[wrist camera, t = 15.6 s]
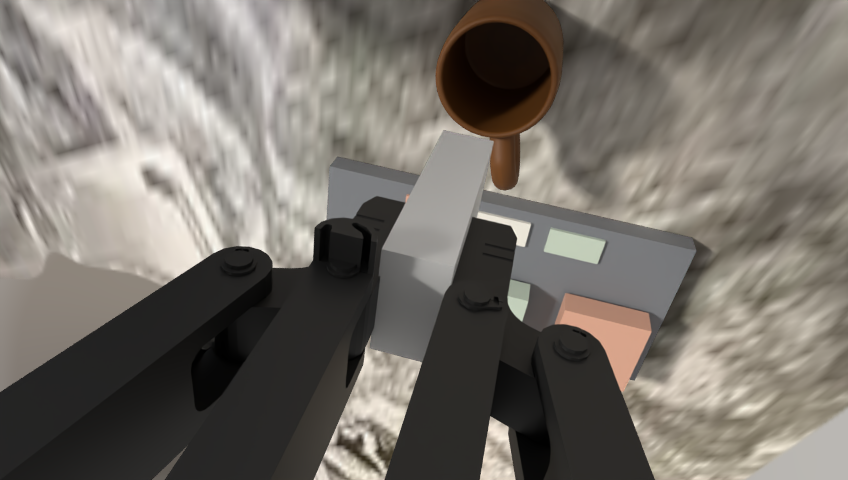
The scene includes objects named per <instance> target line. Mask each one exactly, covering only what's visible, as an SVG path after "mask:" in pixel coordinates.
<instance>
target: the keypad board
mask: <svg viewBox="0 0 848 480" xmlns="http://www.w3.org/2000/svg"><path fill="white" fill-rule="evenodd" d="M419 176H420V175H416V174H411V173H407V172H402V171H398V170H394V169H389V168H385V167H381V166H376V165H372V164H367V163H363V162H359V161H354V160H350V159H345V158H341V157H337V158H336V159H335V161H334V162H333V163H332V164H331V165H330V169H329V187H328V205H327V220H329V219H331V218H343V217H344V218H352V219H353V218H354V216H356V213H357V212H358V210H359V209H360V207H361V206H362V204H363V203H364V202H366V201H368V200H370V199H372V198H374V197H375V196H379V197H384V198H388V199H392V200H397V201H401V202H405V203H406V201H407V199H408V198H409V196H410V194H411V192H412V190H413V188H414V186H415V184H416V182H417V180H418V178H419ZM477 218H480V219H484V220H488V221H493V222H497V223H501V224H505V225H510V226H511V227H512V229H513V231H514V233H515V235H516V237H517V243H516V249H515V255H514V261H513V267H512V273H511V280H515V281H519V282H523V283H527V284H530V292H529V300H528V304H527V307H526V311H525V314H524V317H523V321H522V322H523V323H525V324H527V325H528V326H530V327H532V328H534V329H536V330H538V331H540V332H541V331H542V330H543V329H544V328H546V327H548V326H551V325H554V324H555V321H556V318H557V316H558V313H559V310H560V307H561V304H562V301H563V298H564V295H565V293H568V294H572V295H576V296H580V297H585V298H589V299H593V300H597V301H601V302H605V303H609V304H613V305H617V306H622V307H626V308H630V309H634V310H638V311H642V312H646V313H649V318H650V324H651V331H652V332H651V334H650V336H649V338H648V341H647V343H646V345H645V347H644V349H643V351H642V353H641V355H640V358H639V360H638V362H637V364H636V366H635V368H634V370H633V372H632V375H631V377H630V380H634V381H635V378H636V376H637V374H638V372H639V370H640V368H641V366H642V364H643V362H644V360H645V358H646V355H647V353H648V351H649V349H650V347H651V345H652V343H653V341H654V339H655V337H656V335H657V332H658V330H659V328H660V326H661V324H662V322H663V320H664V318H665V316H666V314H667V311H668V309H669V307H670V305H671V303H672V301H673V299H674V297H675V295H676V293H677V291H678V288H679V286H680V284H681V282H682V280H683V278H684V276H685V274H686V272H687V270H688V268H689V265H690V263H691V261H692V259H693V257H694V255H695V253H696V248H695V245H694V241H693V238H692V237H687V236H683V235H678V234H674V233H670V232H665V231H661V230H657V229H652V228H648V227H643V226H639V225H635V224H630V223H626V222H621V221H617V220H613V219H608V218H604V217H600V216H595V215H591V214H586V213H582V212H578V211H573V210H569V209H565V208H560V207H556V206H551V205H547V204H543V203H538V202H534V201H529V200H525V199H521V198H516V197H512V196H508V195H503V194H499V193H494V192H490V191H486V190H483V193H482V198H481V202H480V207H479V211H478V216H477Z"/></svg>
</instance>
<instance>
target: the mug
mask: <svg viewBox="0 0 848 480" xmlns="http://www.w3.org/2000/svg"><path fill="white" fill-rule="evenodd" d="M562 63H563V34H562V29H561V25H560V23H559V20H558V18H557V16H556V14H555V13H554V11H553V10H552V9H551V7H550V6H549V5H548V4H547V3H546V2H545V1H543V0H479V1H478V2H477V3H476V4H475V5H473V6H472V7H471V9H470V10H469V11H468V12H467V13H466V14H465V16H464V17H463V18H462V19H461V20H460V21H459V23H458V24H457V25H456V26H455V28H454V29H453V30H452V32H451V33H450V35H449V36H448V38H447V40H446V42H445V43H444V45H443V48H442V50H441V53H440V56H439V58H438V62H437V67H436V86H437V92H438V95H439V98H440V100H441V103H442V105H443V107H444V108H445V110H446V111H447V113H448V114H449V115H450V116H451V118H452V119H453V120H454V121H455V122H456V123H458V124H459V125H460V126H462V127H463V128H465V129H466V130H468V131H470V132H472V133H475V134H477V135H481V136H485V137H490V140H491V141H494V143H493V148H492V152H491V157H490V167H491V175H492V181H493V183H494V185H495V186H496V187H497V188H498V189H500V190H509V189H512V188H513V187H515V185H516V184H517V182H518V177H519V169H520V133H522V132H524V131H526V130H528V129H530V128H531V127H533V126H534V125H535V124H537V123H538V122H539V121H540V120H541V119H542V118H543V117H544V116H545V114H546V113H547V112H548V110H549V109H550V107H551V105H552V103H553V101H554V99H555V96H556V93H557V91H558V88H559V85H560V80H561V74H562Z"/></svg>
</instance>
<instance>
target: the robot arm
mask: <svg viewBox="0 0 848 480" xmlns="http://www.w3.org/2000/svg"><path fill="white" fill-rule="evenodd" d="M493 143H494V141H491V140H487V139H482V138H477V137H473V136H468V135H464V134H459V133H455V132H450V131H445V130H443V132H442V134H441V136H440V138H439V140H438V142H437V144H436V146H435V148H434V150H433V151H432V153H431V155H430V157H429V159H428V161H427V163H426V165H425V167H424V169H423V171H422V173H421V175H420V176H419V178H418V180H417V182H416V184H415V186H414V188H413V190H412V192H411V194H410V196H409V198H408V199H407V201H406V203H405V202H401V201H397V200H392V199H388V198H384V197H379V196H375V197H374V198H372V199H370V200H368V201H366V202H364V203H363V204H362V206H361V207H360V209H359V210H358V212H357V213H356V216H354V218H353V219H352V218H344V217H343V218H331V219H329V220H326V221H323V222H321V223H320V224H318V225H317V226H316V227H315V231H314V254H313V261H312V263H311V264H310V266H309V267H305V268H272V260H271V259H270V257H269V255H267V254H266V253H264V252H263V251H261V250H259V249H255V248H252V247H241V246H236V247H230V248H225V249H222V250H220V251H218V252H216V253H213V254H212V255H210V256H209V257H207V258H206V259H204V260H203V261H201V262H200V263H198V264H197V265H195V266H193V267H192V268H190V269H189V270H187V271H186V272H184V273H183V274H181V275H180V276H178V277H177V278H175V279H173V280H172V281H170V282H169V283H167V284H166V285H164V286H163V287H162V288H160V289H158V290H157V291H155V292H153V293H152V294H150V295H149V296H148V297H146V298H144V299H143V300H141V301H140V302H138V303H137V304H135V305H134V306H132V307H130V308H129V309H127V310H126V311H124V312H123V313H121V314H120V315H118V316H117V317H115V318H113V319H112V320H110V321H109V322H108V323H106V324H104V325H103V326H101V327H100V328H98V329H97V330H95V331H93V332H92V333H90V334H89V335H87V336H86V337H84V338H83V339H81V340H80V341H78V342H77V343H75V344H74V345H72V346H70V347H69V348H67V349H66V350H65V351H63V352H61V353H60V354H58V355H57V356H55V357H54V358H52V359H50V360H49V361H47V362H46V363H44V364H43V365H41V366H40V367H38V368H37V369H35V370H34V371H32V372H31V373H29V374H27V375H26V376H24V377H23V378H21V379H20V380H18V381H17V382H15V383H13V384H12V385H11V386H9V387H7V388H6V389H4V390H3V391H1V392H0V480H152V479H153V478H154V477H155V476H156V475H157V474H158V473H159V472H160V471H161V470H162V469H164V467H166V466H167V465H168V464H169V463H170V462H171V461H172V460H173V459H174V458H175V457H176V456H177V455H178V454H179V453H180V452H181V451H182V450H183V449H184V448H185V447H186V446H187V448H186V449H185V451H184V452H183V454H182V455H181V457H180V458H179V459H178V461H177V462H176V464H175V465H174V467H173V469H172V470H171V471H170V473H169V474H168V476H167V477H166V479H165V480H314V477H315V475H316V473H317V470H318V468H319V466H320V463H321V461H322V459H323V456H324V454H325V452H326V450H327V447H328V445H329V443H330V440H331V438H332V436H333V433H334V431H335V429H336V426H337V424H338V422H339V419H340V417H341V415H342V412H343V410H344V408H345V406H346V403H347V401H348V399H349V396H350V394H351V392H352V389H353V387H354V385H355V382H356V380H357V378H358V375H359V373H360V371H361V368H362V366H363V362H364V354H365V347H366V345H367V343H368V340H369V338H370V336H371V342H370V348H371V349H375V350H378V351H382V352H386V353H390V354H394V355H397V356H401V357H405V358H409V359H413V360H416V361H420V362H422V365H421V368H420V371H419V375H418V378H417V381H416V384H415V387H414V390H413V393H412V396H411V399H410V403H409V406H408V409H407V412H406V415H405V418H404V421H403V424H402V427H401V430H400V434H399V437H398V440H397V443H396V446H395V449H394V452H393V455H392V458H391V462H390V465H389V468H388V471H387V474H386V477H385V480H480V474H481V468H482V462H483V456H484V450H485V444H486V438H487V432H488V426H489V420H490V416H491V417H493V418H495V419H496V420H498V421H500V422H501V423H503V424H505V425H507V426H508V427H509V431H508V436H509V442H510V448H511V454H512V460H513V466H514V472H515V478H516V480H655V479H654V476H653V474H652V471H651V469H650V466H649V463H648V461H647V458H646V455H645V453H644V450H643V448H642V445H641V442H640V440H639V437H638V435H637V432H636V429H635V427H634V424H633V421H632V419H631V416H630V414H629V411H628V408H627V406H626V403H625V401H624V398H623V395H622V393H621V390H620V388H619V385H618V382H617V380H616V377H615V374H614V372H613V369H612V367H611V364H610V361H609V359H608V356H607V354H606V351H605V349H604V348H603V346H602V344H601V343H600V341H599V340H598V339H596V338H595V337H594V336H593V335H592V334H590V333H589V332H587V331H585V330H583V329H581V328H579V327H576V326H571V325H567V324H554V325H551V326H548V327H546V328H544V329H543V330H542V331H541V332H540V331H538V330H536V329H534V328H532V327H530V326H528V325H527V324H525V323H523V322H522V321H521V320H519V319H518V318H517V317H516V316H515V315H514V314H513V312H512V311H511V310H510V307H509V305H508V291H509V285H510V279H511V273H512V267H513V261H514V255H515V249H516V243H517V237H516V235H515V233H514V231H513V229H512V227H511V226H510V225H505V224H501V223H497V222H493V221H488V220H484V219H480V218H477V216H478V211H479V207H480V202H481V198H482V193H483V189H484V184H485V179H486V175H487V170H488V166H489V161H490V157H491V152H492V148H493Z"/></svg>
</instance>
